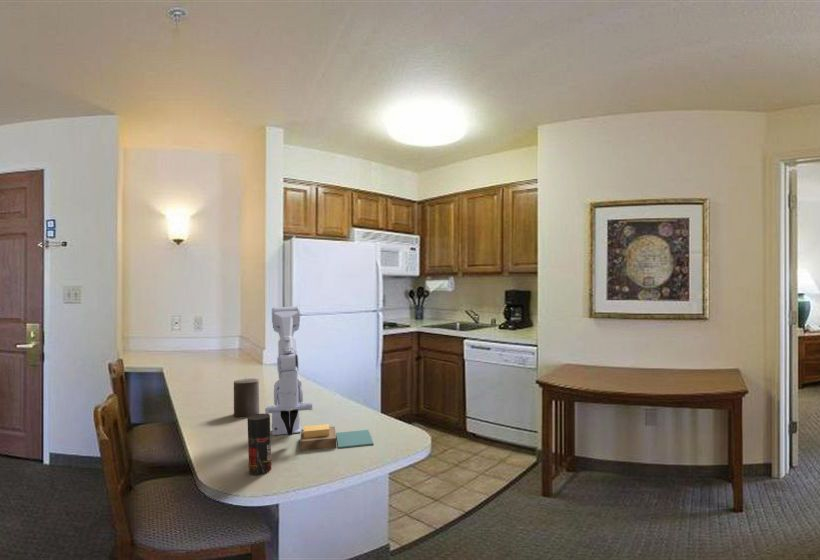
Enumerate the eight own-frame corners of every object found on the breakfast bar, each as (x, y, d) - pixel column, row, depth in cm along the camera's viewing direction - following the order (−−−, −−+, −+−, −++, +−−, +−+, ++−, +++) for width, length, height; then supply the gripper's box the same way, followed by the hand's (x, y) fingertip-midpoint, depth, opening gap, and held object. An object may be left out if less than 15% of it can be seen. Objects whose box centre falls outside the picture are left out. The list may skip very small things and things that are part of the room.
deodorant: (252, 467, 129) (250, 414, 129) (273, 465, 130) (271, 413, 130) (246, 475, 123) (244, 420, 123) (268, 474, 124) (267, 419, 124)
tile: (303, 437, 144) (303, 431, 144) (304, 432, 149) (304, 426, 149) (329, 435, 145) (329, 429, 145) (328, 430, 151) (328, 423, 151)
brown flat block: (300, 451, 140) (300, 441, 140) (301, 438, 152) (301, 429, 152) (336, 447, 143) (336, 438, 143) (334, 435, 154) (334, 426, 154)
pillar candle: (239, 419, 177) (238, 380, 177) (230, 414, 184) (229, 377, 184) (263, 414, 183) (263, 377, 183) (253, 409, 191) (253, 373, 191)
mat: (338, 448, 142) (338, 446, 142) (336, 434, 155) (336, 432, 155) (373, 444, 144) (373, 443, 144) (368, 431, 158) (368, 429, 158)
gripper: (263, 396, 140) (265, 440, 140) (311, 392, 143) (313, 435, 143) (266, 391, 147) (267, 433, 147) (311, 387, 150) (313, 429, 150)
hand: (290, 434), depth 146 cm, fingers closed
